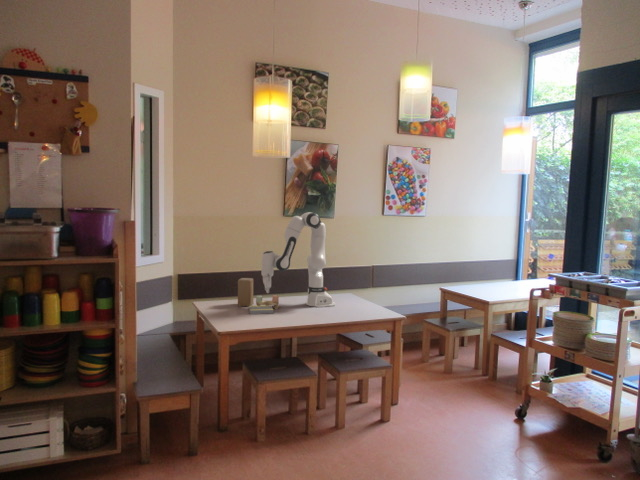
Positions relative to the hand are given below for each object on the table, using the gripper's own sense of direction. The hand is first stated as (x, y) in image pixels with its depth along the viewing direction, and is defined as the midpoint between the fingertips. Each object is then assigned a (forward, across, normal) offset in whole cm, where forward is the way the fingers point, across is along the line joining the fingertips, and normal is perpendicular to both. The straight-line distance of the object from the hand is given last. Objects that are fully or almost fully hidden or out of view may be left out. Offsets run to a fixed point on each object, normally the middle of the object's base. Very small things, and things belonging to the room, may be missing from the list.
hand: (266, 291), depth 361 cm
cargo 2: (+7, 0, -7) cm, 10 cm away
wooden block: (+13, +12, +14) cm, 23 cm away
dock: (+12, -11, +5) cm, 17 cm away
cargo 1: (+8, 0, +5) cm, 9 cm away
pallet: (+12, 0, -1) cm, 12 cm away
